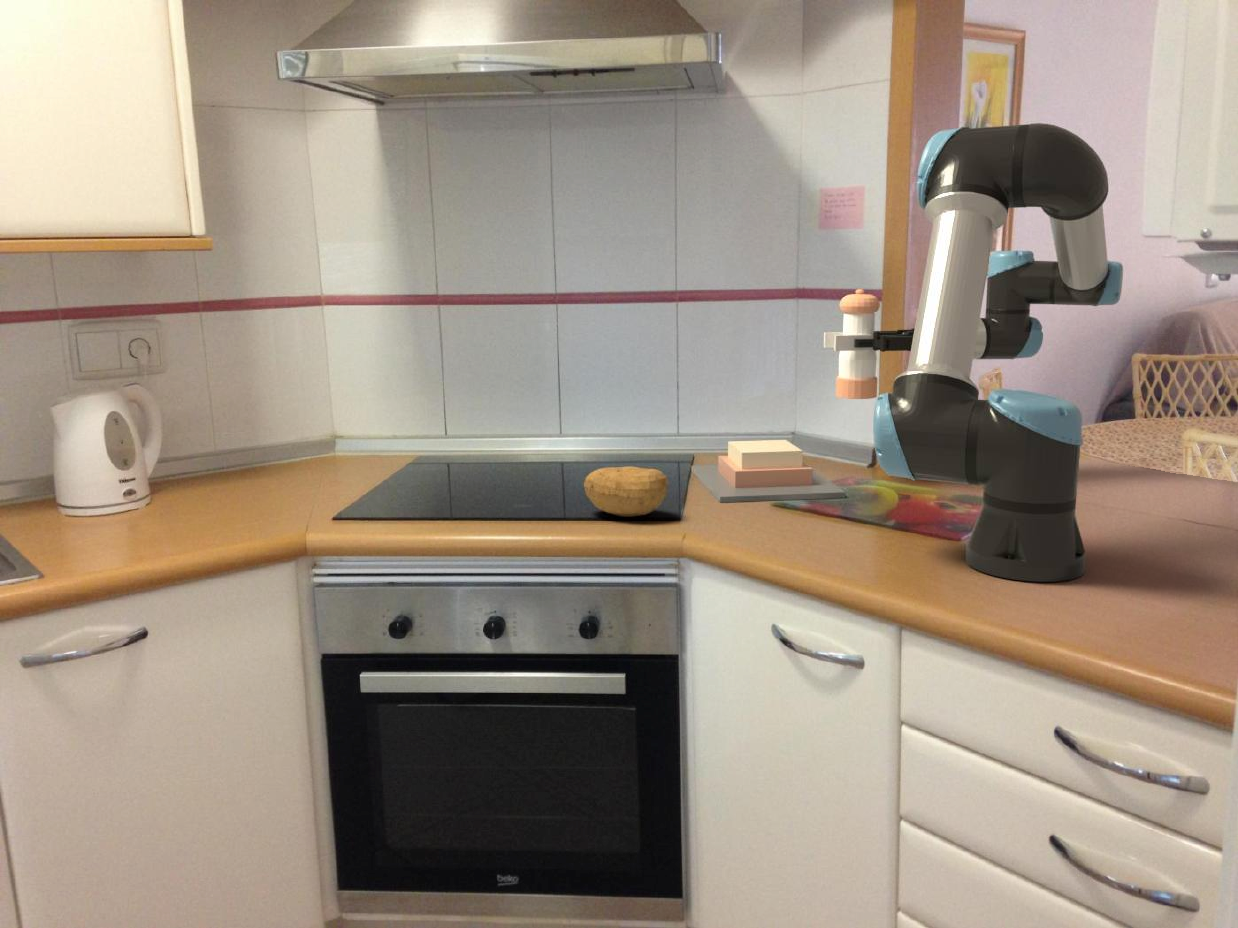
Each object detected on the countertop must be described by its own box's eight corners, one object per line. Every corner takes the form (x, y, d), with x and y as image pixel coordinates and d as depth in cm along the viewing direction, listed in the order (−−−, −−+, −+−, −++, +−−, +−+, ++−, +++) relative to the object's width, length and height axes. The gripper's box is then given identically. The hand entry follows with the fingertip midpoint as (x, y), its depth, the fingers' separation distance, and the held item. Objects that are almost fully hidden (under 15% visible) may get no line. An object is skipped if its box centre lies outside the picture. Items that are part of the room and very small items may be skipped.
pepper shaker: (878, 394, 191) (882, 288, 187) (875, 400, 184) (879, 290, 180) (838, 393, 193) (841, 288, 189) (833, 398, 186) (836, 290, 182)
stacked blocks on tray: (845, 497, 180) (846, 458, 178) (720, 502, 177) (720, 462, 176) (801, 466, 205) (802, 432, 203) (691, 470, 202) (691, 435, 201)
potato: (596, 505, 176) (596, 459, 174) (675, 511, 171) (676, 464, 170) (574, 519, 167) (573, 470, 166) (657, 526, 162) (657, 476, 161)
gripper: (975, 365, 180) (845, 368, 177) (932, 354, 198) (813, 357, 195) (978, 322, 178) (847, 324, 176) (934, 315, 196) (815, 317, 194)
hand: (829, 341), depth 186 cm, fingers closed on pepper shaker, 5 cm apart
